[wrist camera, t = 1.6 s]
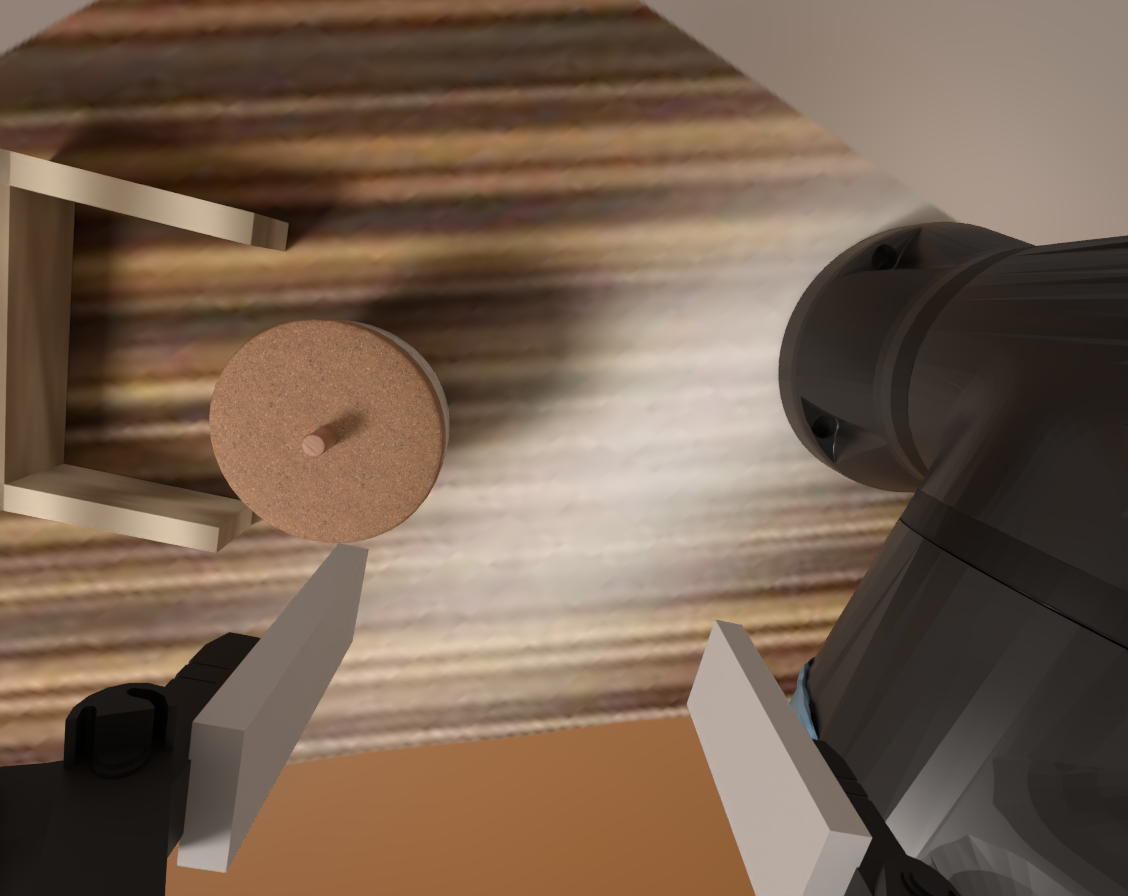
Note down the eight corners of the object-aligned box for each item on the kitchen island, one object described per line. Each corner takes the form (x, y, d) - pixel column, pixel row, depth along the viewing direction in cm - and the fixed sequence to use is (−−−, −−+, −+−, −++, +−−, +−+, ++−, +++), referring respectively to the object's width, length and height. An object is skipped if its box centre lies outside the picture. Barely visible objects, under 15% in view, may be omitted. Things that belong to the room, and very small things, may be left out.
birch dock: (288, 223, 32) (254, 213, 28) (250, 525, 36) (216, 552, 32) (46, 162, 31) (-25, 142, 27) (36, 481, 35) (-27, 504, 31)
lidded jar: (360, 272, 33) (292, 263, 24) (501, 405, 35) (487, 442, 26) (241, 408, 35) (134, 448, 25) (383, 527, 37) (331, 602, 28)
